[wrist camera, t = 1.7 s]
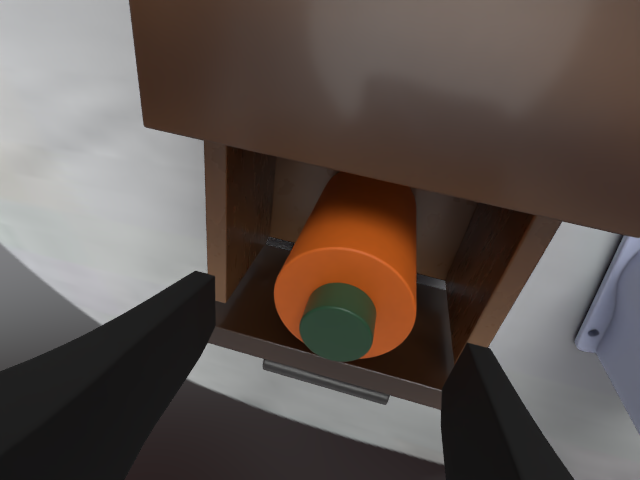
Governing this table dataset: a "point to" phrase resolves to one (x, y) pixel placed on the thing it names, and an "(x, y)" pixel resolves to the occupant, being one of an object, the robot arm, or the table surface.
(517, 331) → the table surface
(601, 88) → the cabinet
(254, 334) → the drawer
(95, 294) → the table surface
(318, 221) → the bottle
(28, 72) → the table surface
